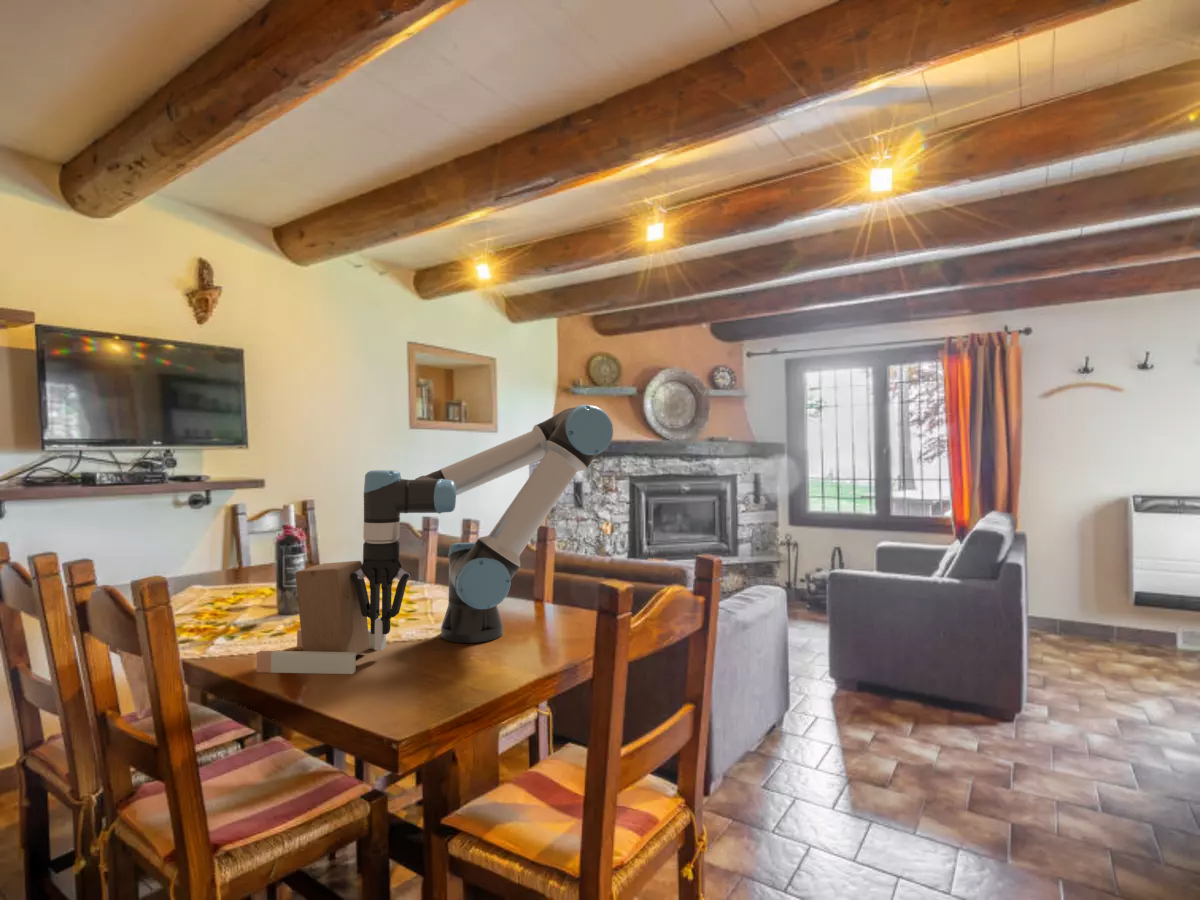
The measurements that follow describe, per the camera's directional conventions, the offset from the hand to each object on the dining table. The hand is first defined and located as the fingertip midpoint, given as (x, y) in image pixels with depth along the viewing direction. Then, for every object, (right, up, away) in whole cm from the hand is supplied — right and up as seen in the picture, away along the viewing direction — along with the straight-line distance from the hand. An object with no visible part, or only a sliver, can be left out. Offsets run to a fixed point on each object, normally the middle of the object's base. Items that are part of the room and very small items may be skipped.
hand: (380, 648), depth 141 cm
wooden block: (-9, -2, 0) cm, 10 cm away
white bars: (-12, -2, 0) cm, 13 cm away
